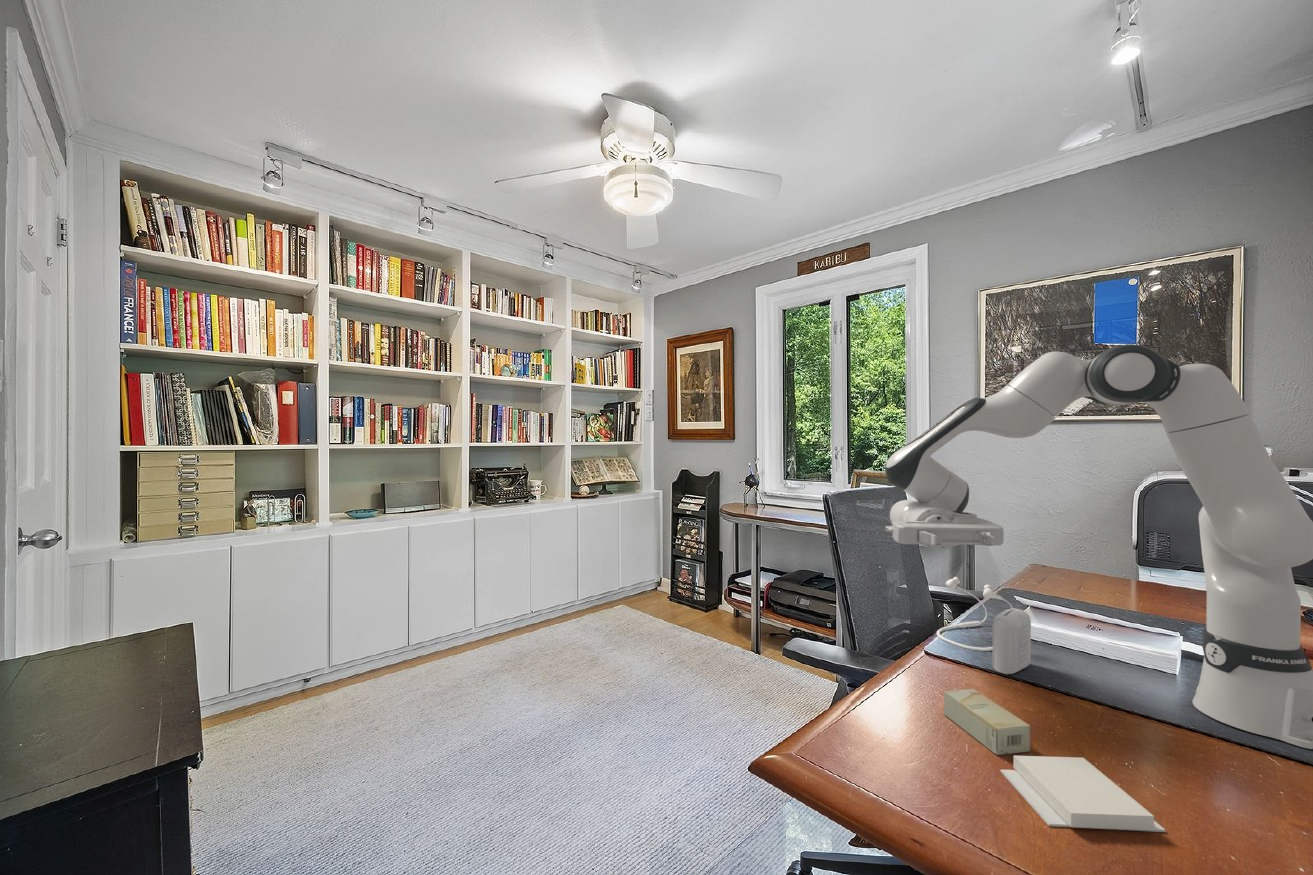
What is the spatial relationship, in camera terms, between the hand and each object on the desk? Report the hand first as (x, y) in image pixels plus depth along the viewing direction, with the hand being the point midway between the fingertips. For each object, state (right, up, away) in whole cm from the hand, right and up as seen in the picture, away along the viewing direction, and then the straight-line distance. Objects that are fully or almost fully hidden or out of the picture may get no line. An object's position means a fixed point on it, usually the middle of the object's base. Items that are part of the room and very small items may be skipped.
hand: (964, 541), depth 100 cm
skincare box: (-2, -28, -17) cm, 33 cm away
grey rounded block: (+18, -30, +14) cm, 38 cm away
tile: (+1, -29, -21) cm, 36 cm away
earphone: (+21, -30, +31) cm, 48 cm away
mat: (0, -30, -27) cm, 40 cm away
